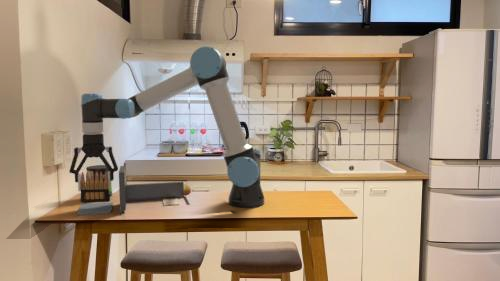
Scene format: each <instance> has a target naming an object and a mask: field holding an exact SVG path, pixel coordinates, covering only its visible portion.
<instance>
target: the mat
mask: <svg viewBox="0 0 500 281" xmlns="http://www.w3.org/2000/svg"><path fill="white" fill-rule="evenodd" d="M113 205H114V202H96V203H87V204H85V203H83V204H82V203H81V205H80V207H79V209H78V211H77V213H76V216H86V215H87V216H88V215H100V214H111V213H112V211H113V210H112V209H113Z"/></svg>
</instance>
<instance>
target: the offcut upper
mask: <svg viewBox="0 0 500 281" xmlns="http://www.w3.org/2000/svg"><path fill="white" fill-rule="evenodd" d="M162 202H163V203H162V204H163V207H167V206H168V207H169V206H180V202H179V198H173V199H162Z"/></svg>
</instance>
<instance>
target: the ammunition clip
mask: <svg viewBox="0 0 500 281" xmlns="http://www.w3.org/2000/svg"><path fill="white" fill-rule="evenodd" d="M104 193H105V198H104ZM110 201H111V199H110V195H109V188H108V175H107V172H105V181H103V174H102V172H101V173H100V188H99V179H98V173H97V172H96V174H95V182H94V175H93V172H91V179H90V181H89V174H88V172H87V171H86V173H84V172H83V171H82V172H81V191H80V203H81V204H82V203H83V204H85V203H87V204H88V203H110Z"/></svg>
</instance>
